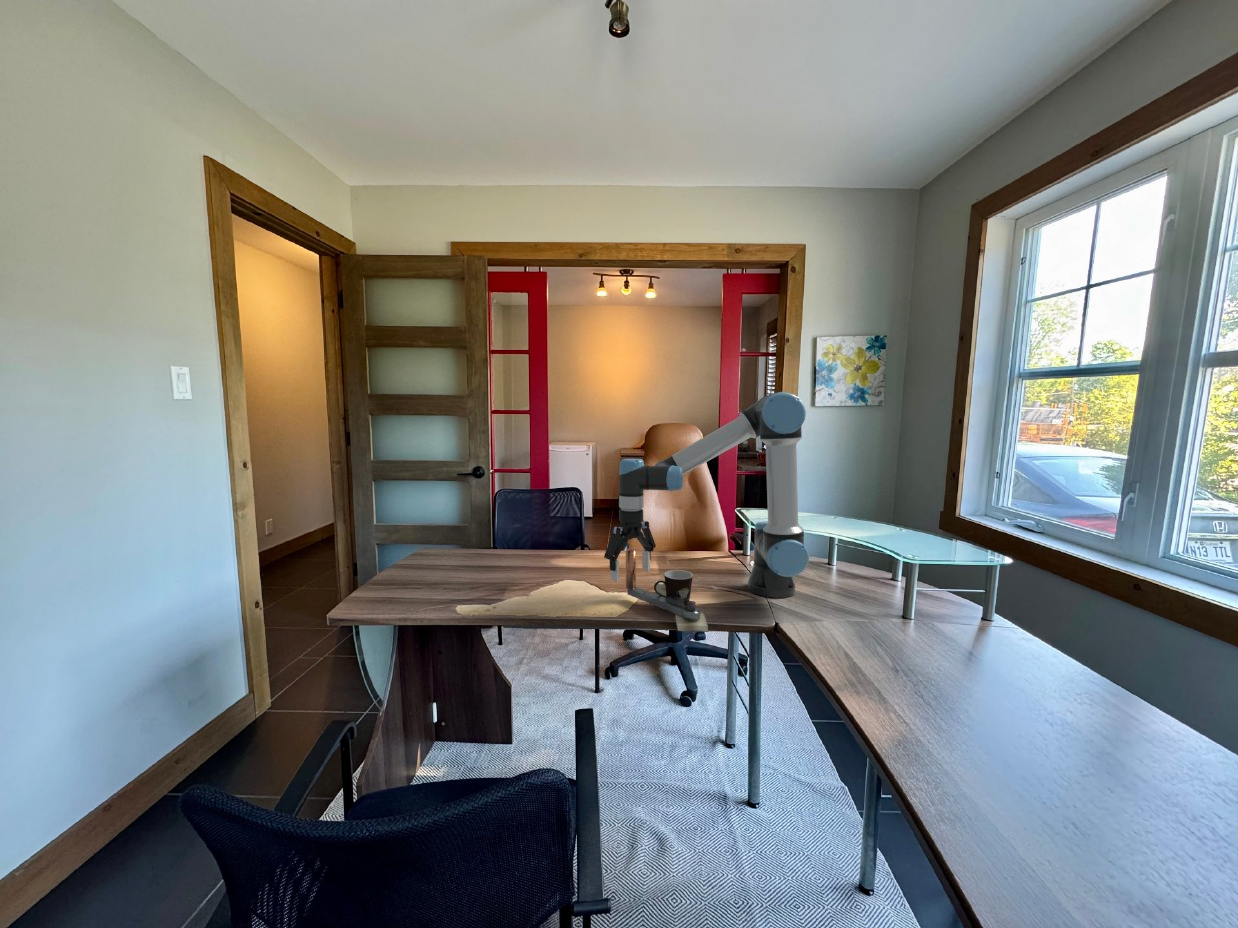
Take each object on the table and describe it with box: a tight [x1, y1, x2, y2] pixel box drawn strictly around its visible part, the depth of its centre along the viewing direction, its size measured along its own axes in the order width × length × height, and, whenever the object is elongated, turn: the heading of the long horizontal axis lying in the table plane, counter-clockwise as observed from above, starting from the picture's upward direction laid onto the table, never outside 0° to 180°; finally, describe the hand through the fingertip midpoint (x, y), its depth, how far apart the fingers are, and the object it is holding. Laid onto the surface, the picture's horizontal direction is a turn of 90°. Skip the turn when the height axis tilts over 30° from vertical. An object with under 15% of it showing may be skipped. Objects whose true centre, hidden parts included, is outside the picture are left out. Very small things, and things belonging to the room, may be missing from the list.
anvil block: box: [654, 580, 667, 597], centre depth 151 cm, size 10×3×4 cm, turn 88°
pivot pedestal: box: [674, 600, 709, 632], centre depth 129 cm, size 8×8×6 cm
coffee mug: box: [653, 569, 694, 606], centre depth 142 cm, size 12×9×10 cm
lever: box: [625, 548, 701, 621], centre depth 138 cm, size 28×6×14 cm, turn 43°
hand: (630, 575), depth 146 cm, fingers open, 13 cm apart
